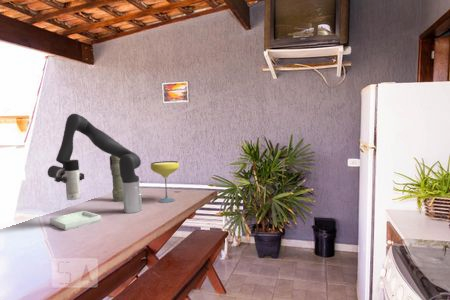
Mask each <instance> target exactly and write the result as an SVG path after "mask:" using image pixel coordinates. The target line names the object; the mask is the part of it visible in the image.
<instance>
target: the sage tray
mask: <svg viewBox="0 0 450 300" xmlns="http://www.w3.org/2000/svg"><path fill="white" fill-rule="evenodd" d="M100 222H102V215H101V214H97V213H93V212H90V211H87V210H80V211H75V212H72V213H68V214H64V215H58V216H55V217H51V218H49V224H50V226H53V225H54V227H56V228H58V227H59V229H60V228H61V230H63V229H64V230H63V231H65V230H67V231H69V230H73V228H74V229H77V227H78V228H81V227H85V226H88V225H92V224H96V223H100Z"/></svg>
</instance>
